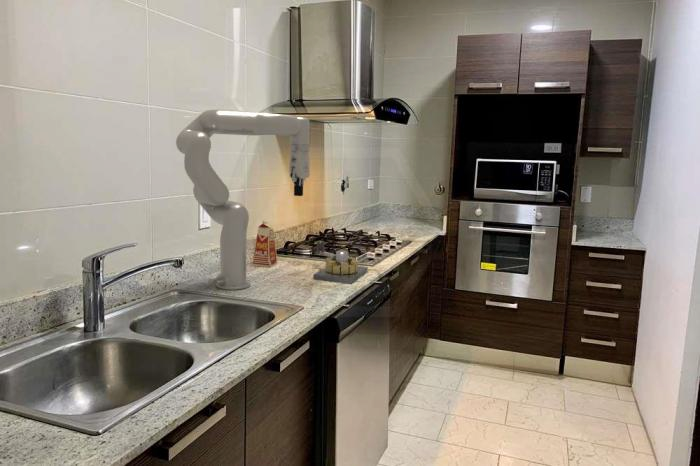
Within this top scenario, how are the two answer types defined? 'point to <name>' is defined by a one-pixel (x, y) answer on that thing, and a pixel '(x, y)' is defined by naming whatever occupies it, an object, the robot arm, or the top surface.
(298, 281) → the top surface
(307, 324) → the top surface
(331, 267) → the tan ring with lever
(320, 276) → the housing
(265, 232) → the milk carton
